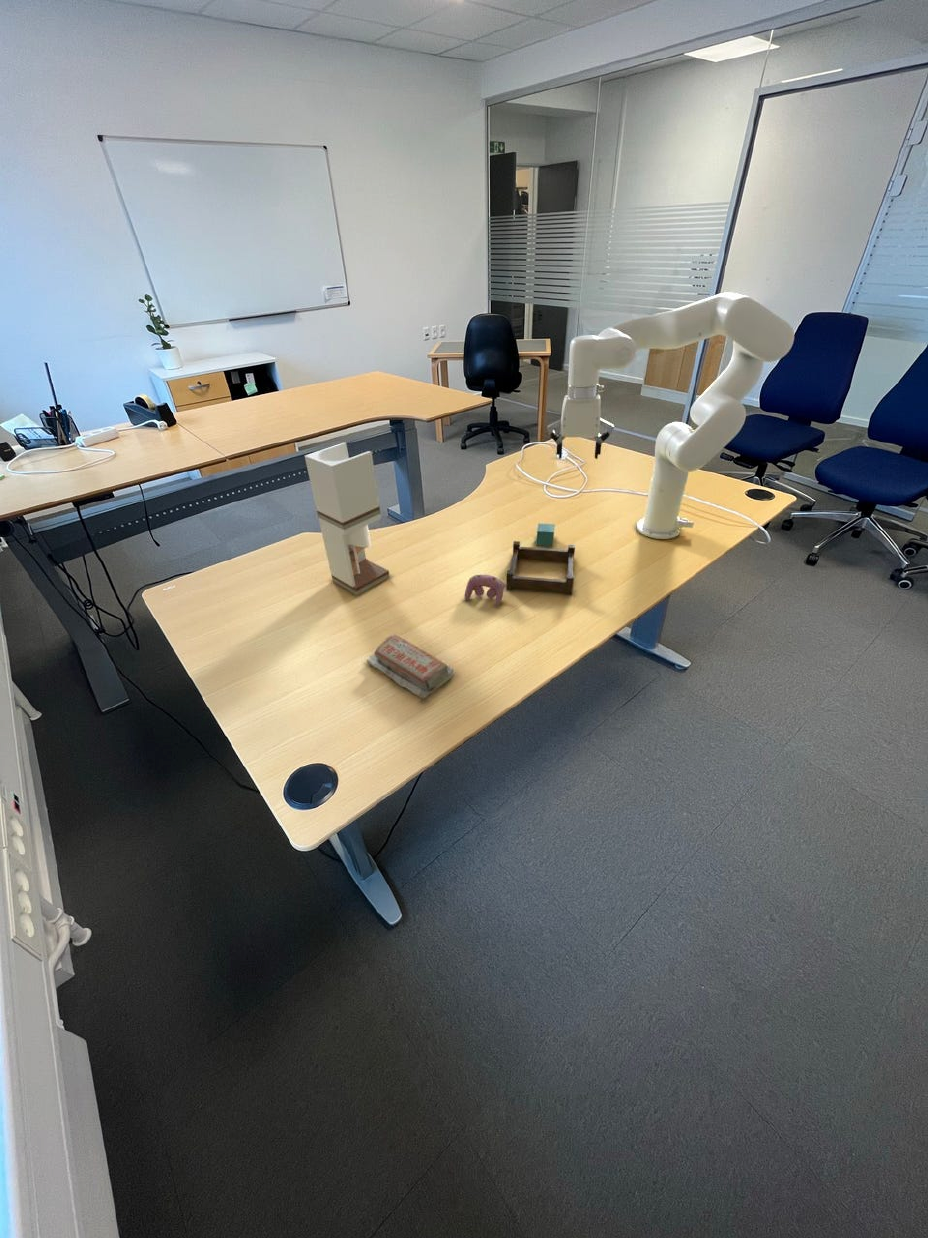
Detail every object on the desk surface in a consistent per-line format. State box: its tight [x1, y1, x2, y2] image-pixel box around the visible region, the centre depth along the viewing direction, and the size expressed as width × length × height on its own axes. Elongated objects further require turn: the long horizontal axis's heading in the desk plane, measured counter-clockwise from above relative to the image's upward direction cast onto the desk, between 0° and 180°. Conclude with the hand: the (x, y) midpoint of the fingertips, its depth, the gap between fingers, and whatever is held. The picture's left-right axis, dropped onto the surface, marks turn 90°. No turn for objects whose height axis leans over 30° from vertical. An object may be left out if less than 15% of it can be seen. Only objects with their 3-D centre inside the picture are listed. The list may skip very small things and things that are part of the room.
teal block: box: [535, 523, 556, 547], centre depth 154 cm, size 5×5×5 cm
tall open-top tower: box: [304, 441, 390, 596], centre depth 132 cm, size 11×11×35 cm
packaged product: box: [366, 634, 455, 700], centre depth 112 cm, size 18×5×10 cm
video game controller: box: [464, 574, 506, 607], centre depth 132 cm, size 10×5×7 cm, turn 71°
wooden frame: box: [505, 540, 576, 596], centre depth 140 cm, size 17×17×5 cm
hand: (578, 456), depth 142 cm, fingers open, 9 cm apart
